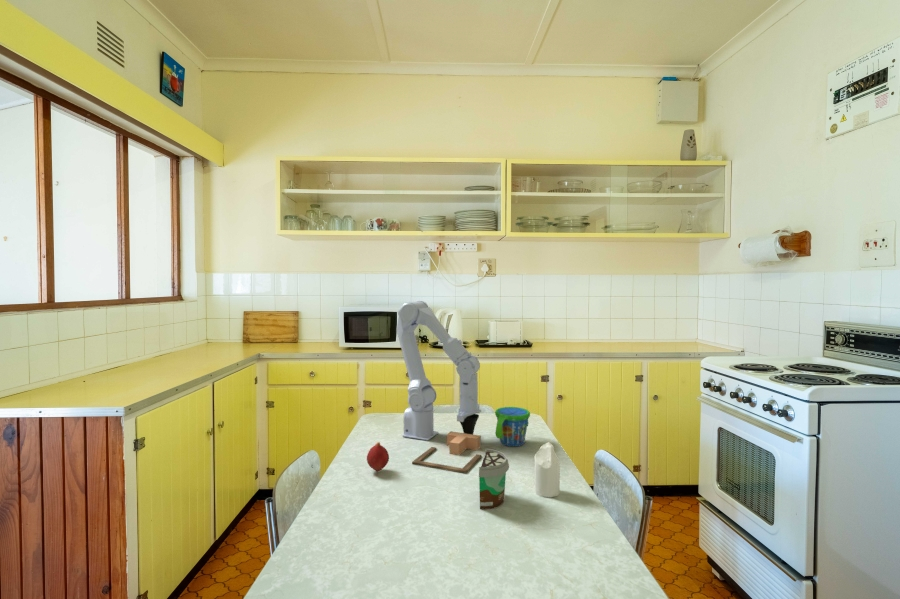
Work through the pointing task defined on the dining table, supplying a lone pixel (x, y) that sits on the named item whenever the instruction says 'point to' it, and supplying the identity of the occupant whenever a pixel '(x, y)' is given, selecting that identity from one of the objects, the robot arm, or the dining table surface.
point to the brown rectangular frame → (444, 467)
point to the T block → (462, 442)
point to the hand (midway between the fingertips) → (468, 437)
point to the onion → (377, 457)
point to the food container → (492, 479)
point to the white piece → (547, 471)
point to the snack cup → (512, 425)
